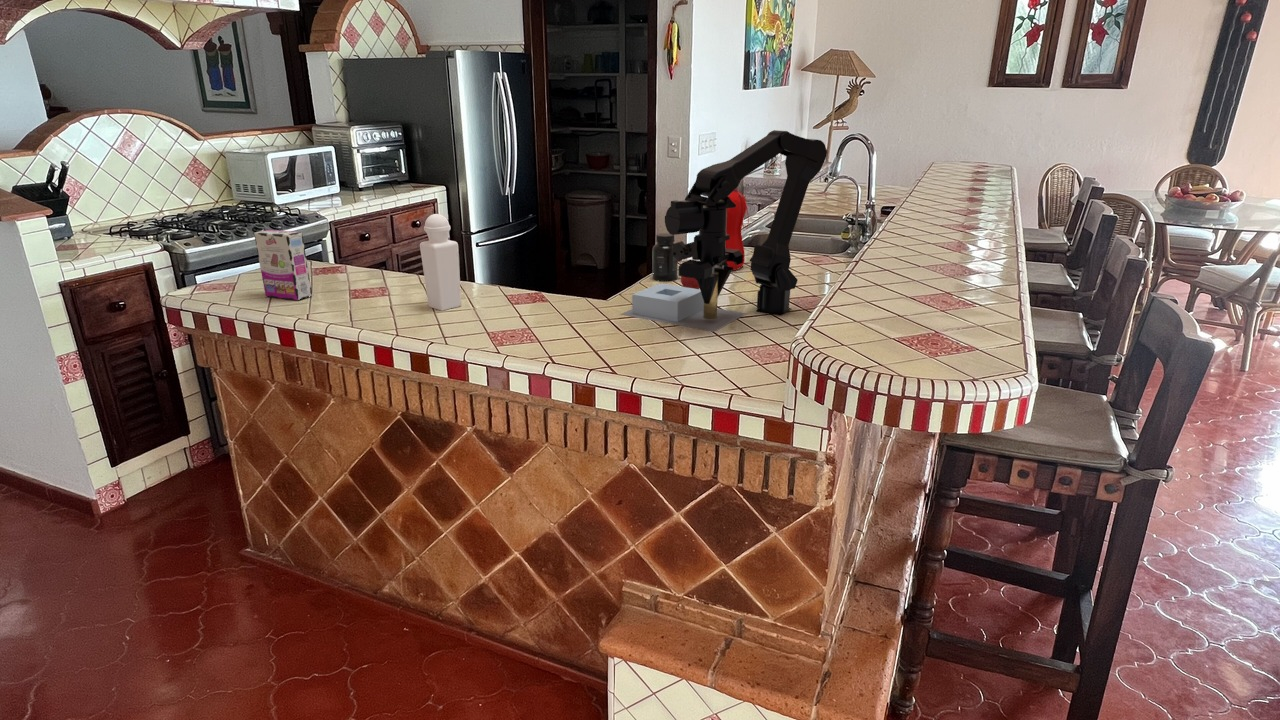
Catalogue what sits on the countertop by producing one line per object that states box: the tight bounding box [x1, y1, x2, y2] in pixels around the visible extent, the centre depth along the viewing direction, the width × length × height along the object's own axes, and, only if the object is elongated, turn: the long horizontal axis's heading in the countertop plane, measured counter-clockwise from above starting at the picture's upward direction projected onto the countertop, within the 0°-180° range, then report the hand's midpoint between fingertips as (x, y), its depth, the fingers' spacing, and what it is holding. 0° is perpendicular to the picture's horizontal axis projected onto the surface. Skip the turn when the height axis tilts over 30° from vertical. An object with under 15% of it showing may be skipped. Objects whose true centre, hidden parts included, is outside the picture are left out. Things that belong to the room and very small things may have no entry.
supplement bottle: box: [652, 232, 679, 282], centre depth 200 cm, size 7×7×12 cm
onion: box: [680, 276, 700, 289], centre depth 186 cm, size 6×6×8 cm
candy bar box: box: [253, 229, 313, 301], centre depth 184 cm, size 11×5×16 cm, turn 68°
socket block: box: [631, 283, 704, 322], centre depth 170 cm, size 12×12×4 cm
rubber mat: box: [620, 308, 747, 333], centre depth 169 cm, size 24×16×1 cm, turn 56°
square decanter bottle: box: [419, 213, 462, 312], centre depth 174 cm, size 6×6×22 cm
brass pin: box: [703, 271, 719, 319], centre depth 161 cm, size 3×3×10 cm
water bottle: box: [726, 187, 750, 271], centre depth 209 cm, size 9×11×25 cm
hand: (710, 301), depth 162 cm, fingers closed on brass pin, 3 cm apart
